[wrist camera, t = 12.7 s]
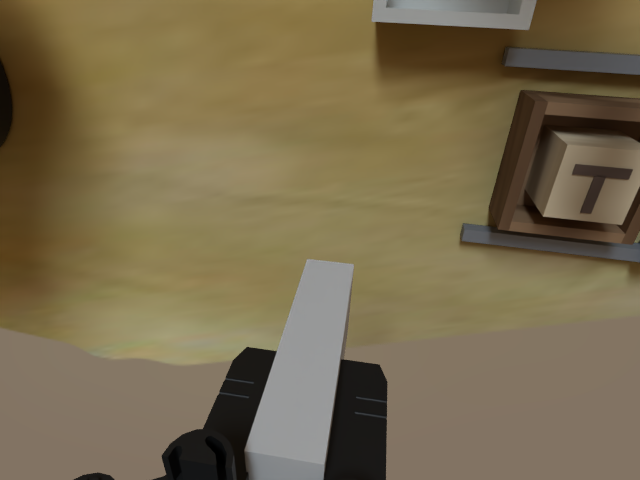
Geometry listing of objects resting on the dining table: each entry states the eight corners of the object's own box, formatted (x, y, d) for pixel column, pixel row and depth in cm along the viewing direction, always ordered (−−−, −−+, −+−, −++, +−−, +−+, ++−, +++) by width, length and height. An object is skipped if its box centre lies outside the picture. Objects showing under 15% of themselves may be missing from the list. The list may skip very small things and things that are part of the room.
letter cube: (524, 188, 29) (543, 217, 25) (544, 124, 27) (568, 145, 23) (592, 195, 29) (622, 225, 25) (618, 130, 26) (656, 152, 23)
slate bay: (460, 234, 32) (463, 247, 31) (505, 46, 26) (512, 49, 24) (647, 256, 31) (661, 271, 29) (749, 61, 24) (775, 65, 22)
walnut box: (488, 207, 31) (497, 229, 28) (520, 90, 27) (535, 100, 24) (609, 220, 30) (632, 244, 27) (662, 100, 26) (697, 113, 23)
